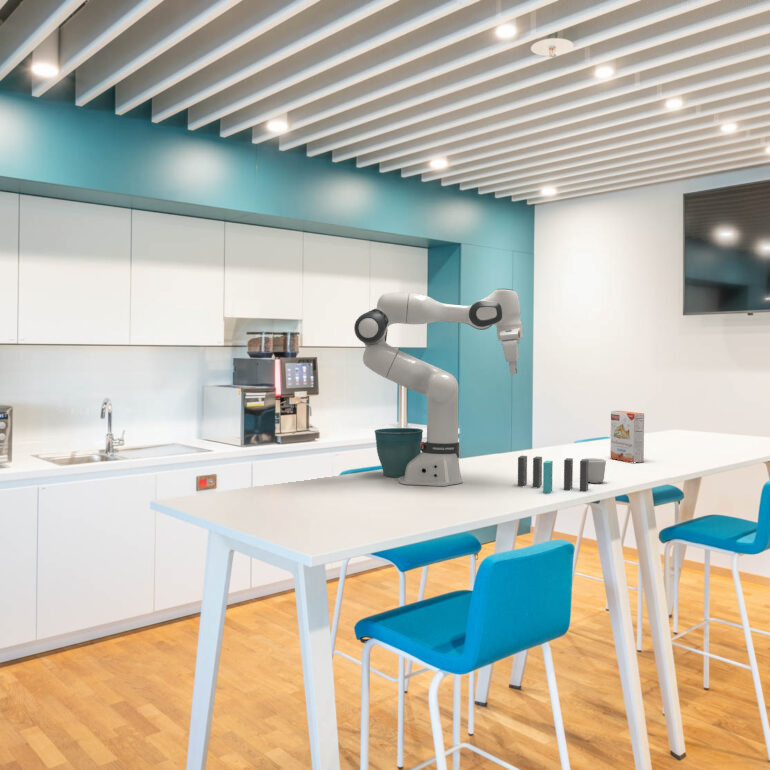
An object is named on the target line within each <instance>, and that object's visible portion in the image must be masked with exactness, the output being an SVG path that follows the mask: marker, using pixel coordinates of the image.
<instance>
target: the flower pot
mask: <svg viewBox="0 0 770 770" xmlns="http://www.w3.org/2000/svg"><path fill="white" fill-rule="evenodd" d="M423 432H424V430H423V429H420V428H413V427H390V428H379V429H378V428H377V429H375V430H374V434H375V435H374V436H375V444H376V452H377V456H378V460H379V462H380V466H381V468H382V472H383V473H382V474H383V476H384V477H389V478H400V477H401V476H405V470H406V466H407V464H408V463H409V462H410V461H411V460H412V459H414V458H415V457H416V456H417V455H419V454H420V453H421V452H422V451H421V446H420V443H421V442H423Z"/></svg>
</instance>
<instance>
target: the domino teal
mask: <svg viewBox="0 0 770 770" xmlns="http://www.w3.org/2000/svg"><path fill="white" fill-rule="evenodd" d="M551 491H552V492H553V460H545V461H544V462H542V493H543V494H551V493H552V492H551Z"/></svg>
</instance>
